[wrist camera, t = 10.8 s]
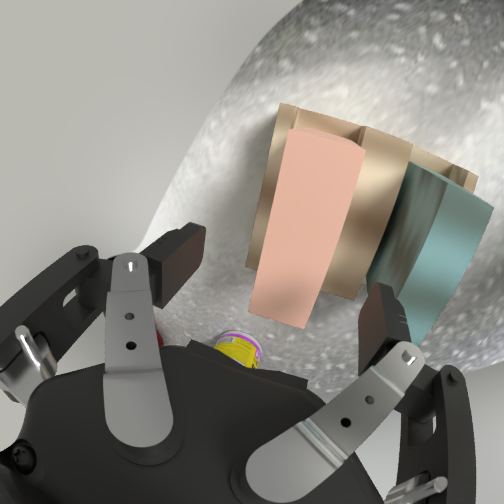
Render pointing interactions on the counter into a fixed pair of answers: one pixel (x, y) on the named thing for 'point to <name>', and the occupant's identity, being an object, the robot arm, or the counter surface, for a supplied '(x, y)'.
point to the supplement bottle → (240, 348)
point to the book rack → (390, 219)
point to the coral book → (304, 223)
